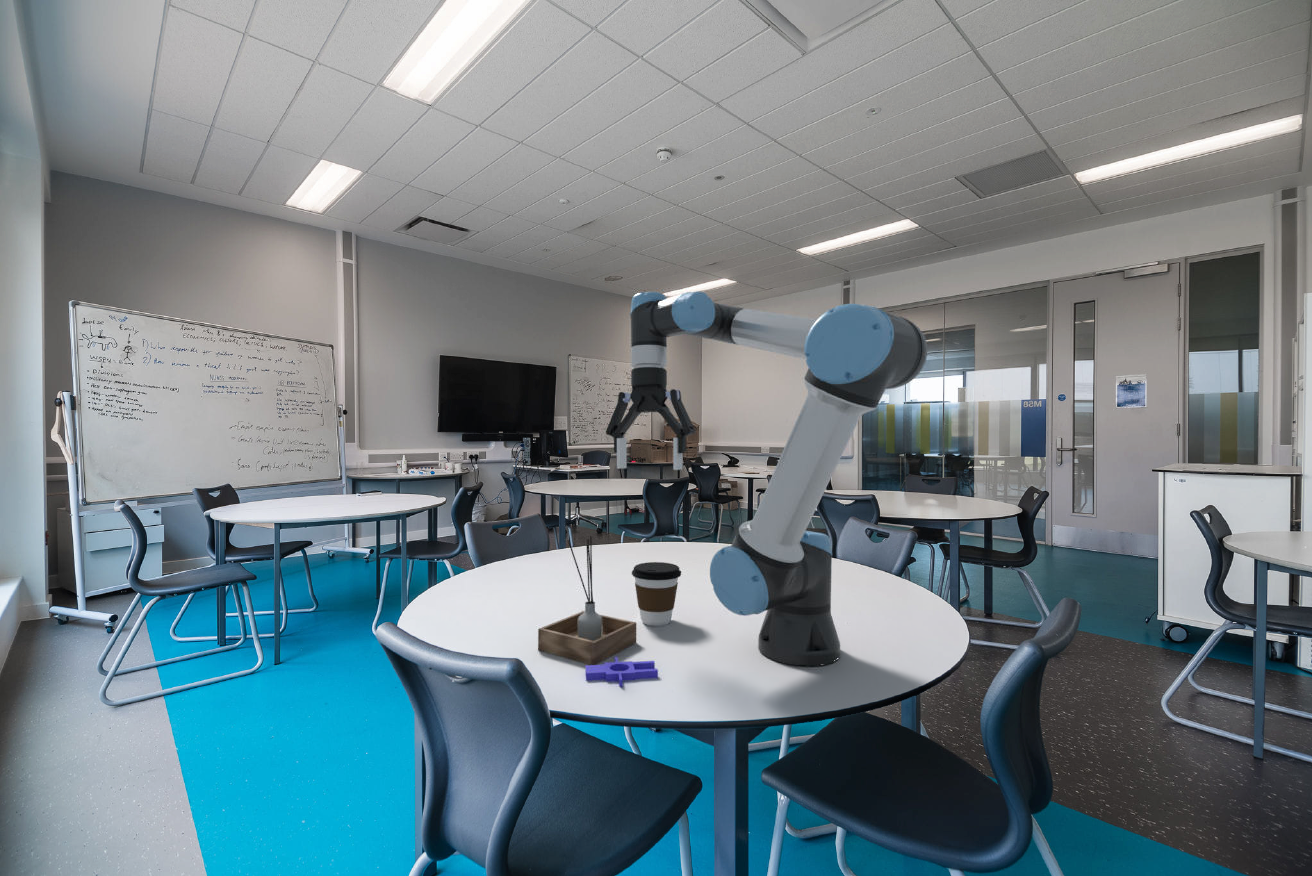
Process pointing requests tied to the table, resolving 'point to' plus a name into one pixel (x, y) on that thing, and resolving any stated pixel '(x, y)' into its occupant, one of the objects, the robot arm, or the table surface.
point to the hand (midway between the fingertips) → (649, 469)
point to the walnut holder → (567, 643)
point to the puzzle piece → (621, 671)
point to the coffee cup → (656, 591)
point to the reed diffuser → (589, 606)
